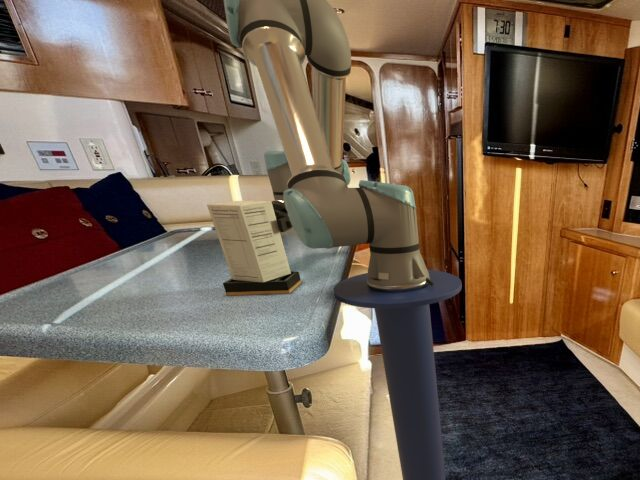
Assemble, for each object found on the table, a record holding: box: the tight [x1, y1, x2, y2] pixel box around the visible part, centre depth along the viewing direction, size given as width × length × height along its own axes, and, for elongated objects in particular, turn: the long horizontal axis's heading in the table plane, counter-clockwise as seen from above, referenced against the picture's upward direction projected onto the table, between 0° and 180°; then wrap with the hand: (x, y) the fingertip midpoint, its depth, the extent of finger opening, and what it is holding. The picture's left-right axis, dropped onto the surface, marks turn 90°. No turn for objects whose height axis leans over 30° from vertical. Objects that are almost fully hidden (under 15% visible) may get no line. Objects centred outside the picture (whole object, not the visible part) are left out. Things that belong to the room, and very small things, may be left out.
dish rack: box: [222, 271, 302, 296], centre depth 98 cm, size 14×10×3 cm
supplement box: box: [206, 200, 292, 282], centre depth 93 cm, size 10×9×17 cm
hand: (249, 226), depth 92 cm, fingers open, 13 cm apart
